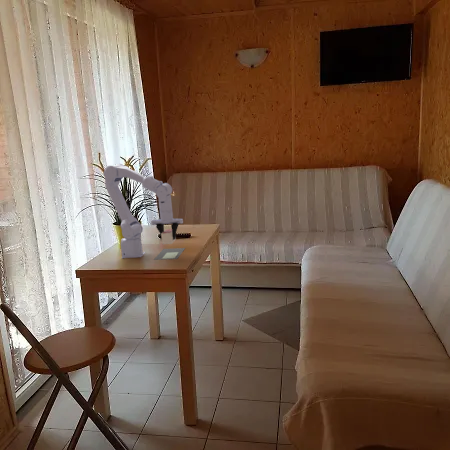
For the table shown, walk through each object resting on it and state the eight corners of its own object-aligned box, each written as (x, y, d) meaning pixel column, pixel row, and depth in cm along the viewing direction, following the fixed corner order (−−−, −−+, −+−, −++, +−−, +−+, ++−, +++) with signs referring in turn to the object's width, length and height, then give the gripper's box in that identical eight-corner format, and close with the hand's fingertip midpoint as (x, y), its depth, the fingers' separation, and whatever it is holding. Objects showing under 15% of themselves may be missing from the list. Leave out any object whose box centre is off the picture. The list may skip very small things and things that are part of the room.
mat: (153, 260, 202) (153, 259, 202) (163, 249, 219) (163, 248, 219) (177, 259, 200) (177, 258, 200) (185, 248, 218) (185, 247, 218)
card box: (166, 239, 209) (165, 229, 208) (175, 239, 209) (174, 228, 208) (162, 244, 202) (161, 233, 201) (171, 243, 201) (170, 232, 200)
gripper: (148, 212, 199) (151, 242, 202) (179, 211, 197) (182, 240, 200) (152, 209, 206) (155, 238, 209) (182, 208, 204) (185, 236, 207)
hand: (168, 239), depth 205 cm, fingers closed on card box, 4 cm apart
